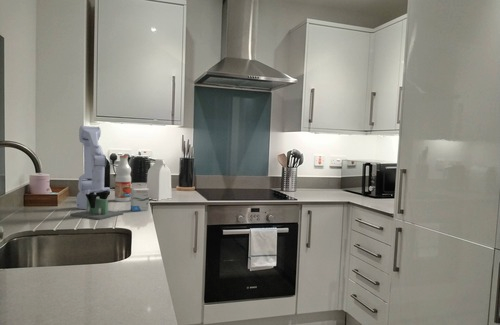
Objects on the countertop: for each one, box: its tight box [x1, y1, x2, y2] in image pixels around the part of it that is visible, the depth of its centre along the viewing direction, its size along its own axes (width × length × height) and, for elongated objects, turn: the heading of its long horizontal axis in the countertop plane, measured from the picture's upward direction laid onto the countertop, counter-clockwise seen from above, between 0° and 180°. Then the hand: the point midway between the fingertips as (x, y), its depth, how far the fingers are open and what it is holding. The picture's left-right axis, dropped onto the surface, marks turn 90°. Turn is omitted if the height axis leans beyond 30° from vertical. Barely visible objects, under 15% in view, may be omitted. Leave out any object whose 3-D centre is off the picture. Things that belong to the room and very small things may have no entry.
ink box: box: [130, 182, 150, 212], centre depth 198 cm, size 8×5×15 cm, turn 124°
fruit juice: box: [114, 155, 132, 203], centre depth 227 cm, size 9×9×28 cm
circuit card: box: [86, 198, 109, 215], centre depth 181 cm, size 12×2×7 cm, turn 68°
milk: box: [146, 158, 173, 200], centre depth 240 cm, size 12×12×26 cm
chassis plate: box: [69, 207, 124, 221], centre depth 181 cm, size 18×16×4 cm
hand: (97, 207), depth 181 cm, fingers open, 6 cm apart
